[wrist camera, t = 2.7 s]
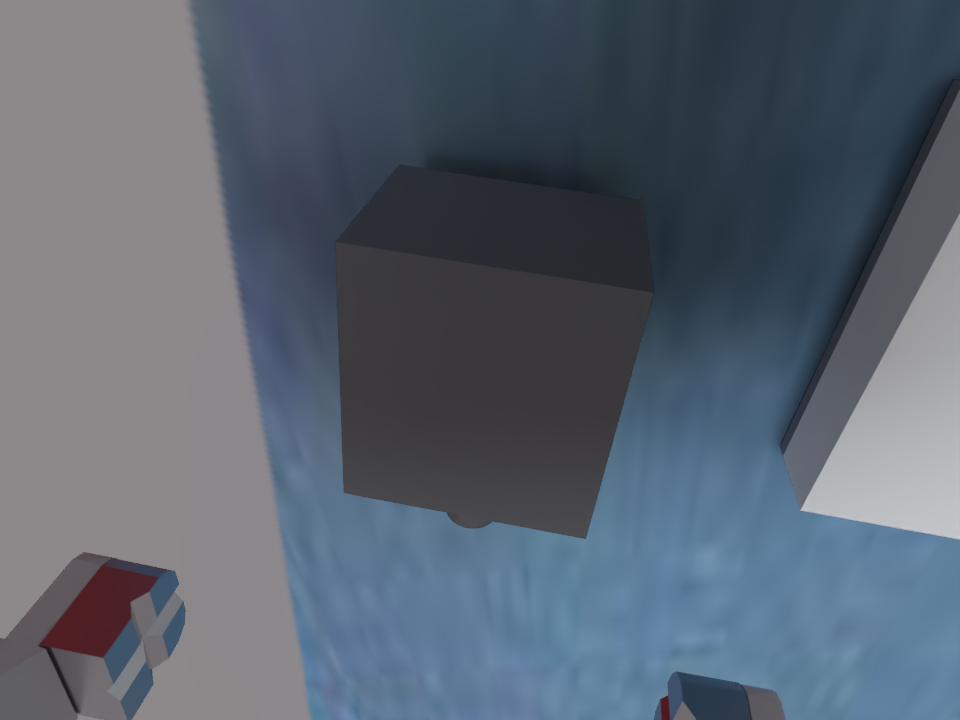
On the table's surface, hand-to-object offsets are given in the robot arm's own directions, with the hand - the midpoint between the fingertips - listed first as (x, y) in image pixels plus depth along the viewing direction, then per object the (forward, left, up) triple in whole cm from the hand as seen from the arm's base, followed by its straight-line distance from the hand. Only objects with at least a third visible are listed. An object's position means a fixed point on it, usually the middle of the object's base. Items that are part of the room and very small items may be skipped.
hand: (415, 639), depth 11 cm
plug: (+1, 0, -13) cm, 13 cm away
